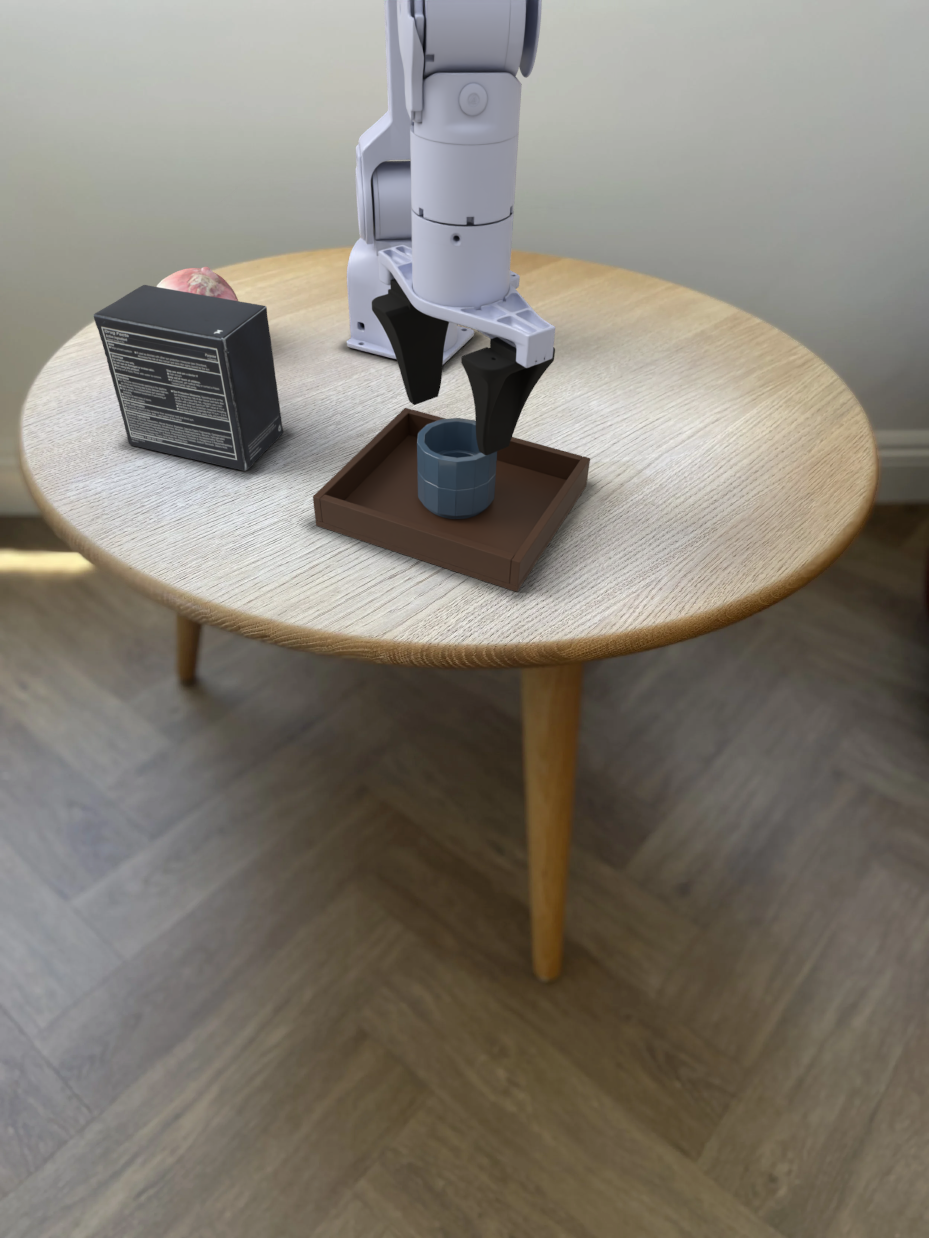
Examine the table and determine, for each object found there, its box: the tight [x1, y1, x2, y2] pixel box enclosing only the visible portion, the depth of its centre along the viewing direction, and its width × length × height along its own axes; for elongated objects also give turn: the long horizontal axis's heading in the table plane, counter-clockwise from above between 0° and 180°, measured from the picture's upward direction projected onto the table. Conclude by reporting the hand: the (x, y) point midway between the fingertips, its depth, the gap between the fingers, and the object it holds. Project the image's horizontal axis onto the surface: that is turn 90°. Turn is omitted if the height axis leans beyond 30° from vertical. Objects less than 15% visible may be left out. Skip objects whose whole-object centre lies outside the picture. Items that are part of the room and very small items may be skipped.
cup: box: [417, 417, 497, 519], centre depth 60 cm, size 5×6×5 cm
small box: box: [93, 284, 284, 472], centre depth 64 cm, size 11×6×10 cm, turn 71°
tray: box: [312, 407, 591, 593], centre depth 61 cm, size 15×13×2 cm
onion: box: [156, 266, 239, 301], centre depth 76 cm, size 8×8×7 cm
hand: (457, 422), depth 58 cm, fingers open, 7 cm apart
